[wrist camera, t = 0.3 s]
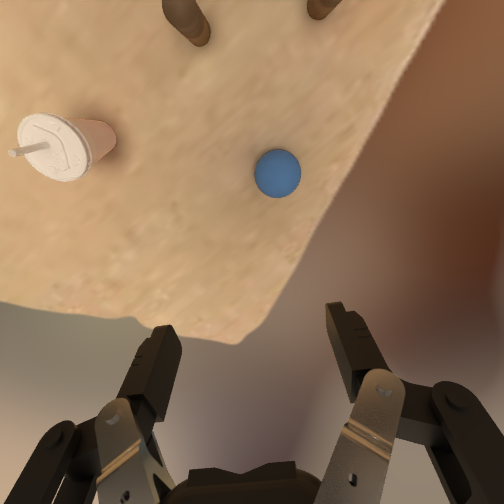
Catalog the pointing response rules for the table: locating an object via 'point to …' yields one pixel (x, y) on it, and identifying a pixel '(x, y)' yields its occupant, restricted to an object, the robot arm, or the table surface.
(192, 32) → the left post
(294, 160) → the ball
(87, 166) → the smoothie
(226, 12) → the table surface
